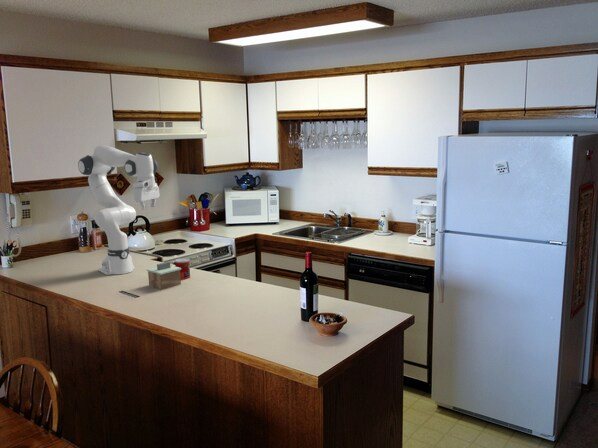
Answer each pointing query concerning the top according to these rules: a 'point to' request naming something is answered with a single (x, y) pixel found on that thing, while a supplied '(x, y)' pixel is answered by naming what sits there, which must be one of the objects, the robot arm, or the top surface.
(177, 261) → the canned food
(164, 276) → the crate
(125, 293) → the dark grey flat plate
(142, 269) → the top surface
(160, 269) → the lid
